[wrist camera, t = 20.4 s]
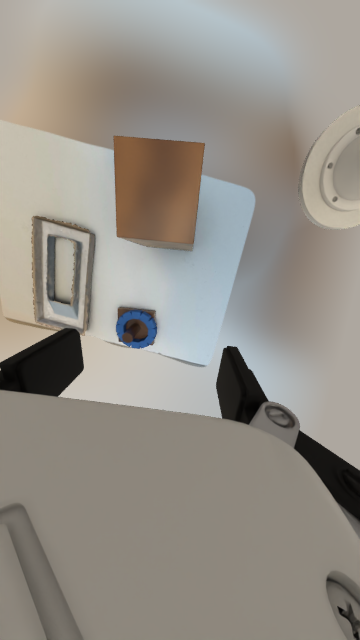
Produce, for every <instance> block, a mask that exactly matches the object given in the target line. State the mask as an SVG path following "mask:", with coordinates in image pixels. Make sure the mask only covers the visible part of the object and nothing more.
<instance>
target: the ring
mask: <svg viewBox="0 0 360 640" xmlns="http://www.w3.org/2000/svg"><path fill="white" fill-rule="evenodd" d="M131 319H139V320H141V321H142V322H144V323H145V324H146V326H147V328H148V335H147V337H145V338H143V339H135V338H134V339H133V340H132V342H130V343H126V342H124V341H123V340H122V335H123V334H124V333H125V332H126V331H127V330H126V323H127V322H128V321H129V320H131ZM116 332H118V334H117V335H118V337H119V338H120V340H121V341H123V343H124V344H126V345H127V346H129V347H130V346H131V347H132V348H138V349H140V347H141V348H144V347H147V346H149V344H151V343H152V342H153V340H154V339H155V337H156V334H157V327H156V323H155V321H154V319H153V318H151V315H149V314H148V313H146V312H145V311H144V312H143V313H142V310H135V309H134V310H130V311H128V312H126V313H124V314H123V315H122V316H120V318H119V320H118V321H117V324H116Z"/></svg>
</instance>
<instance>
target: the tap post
mask: <svg viewBox="0 0 360 640" xmlns="http://www.w3.org/2000/svg"><path fill="white" fill-rule="evenodd" d="M130 310H134V309H133V308H124V307H119V308H118V320H119V318H120V316H122V315H123V314H124V313H126V312H128V311H130ZM135 310H142V313H143V312H144V311H145V312H146V313H148V314H149V315H151V318H153V319H154V321H155V311H152V310H143V309H135ZM126 330H127V331H126V332H125V333H124V334H123V335H122V340H123V341H124V342H126V343H130V342H132V340H133V339H134V338H135V339H143V338H145V337H147V335H148V328H147V326H146V324H145V323H144V322H142V321H141V320H139V319H131V320H129V321H128V322H127V323H126ZM123 341H121V340H120V338H119V342H123ZM153 344H154V340H153V342H152V343H151V344H149V345H153Z"/></svg>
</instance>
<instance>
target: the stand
mask: <svg viewBox="0 0 360 640" xmlns="http://www.w3.org/2000/svg"><path fill="white" fill-rule="evenodd" d="M204 146H205V144H204V143H196V142H184V141H172V140H160V139H148V138H136V137H123V136H114V164H115V195H116V226H117V237H119V238H122V239H125V240H128V241H131V242H134V243H137V244H140V245H144V246H147V247H155V248H165V249H175V250H185V251H192V250H193V244H194V236H195V227H196V218H197V209H198V200H199V191H200V182H201V172H202V164H203V154H204Z"/></svg>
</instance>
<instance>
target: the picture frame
mask: <svg viewBox="0 0 360 640" xmlns="http://www.w3.org/2000/svg"><path fill="white" fill-rule="evenodd" d="M32 222H33V223H32V226H33V229H32V235H33V236H32V238H31V239H32V241H31V242H32V245H33V246H32V258H33V262H32V270H33V272H32V278H33V287H34V288H33V294H34V297H33V298H34V300H33V305H34V310H35V311H34V315H35V322H36V323H39V324H41V325H45V326H48V327H49V326H50V327H52V328H58V329H61V330H62V329H64V328H73V329H77V331H78V332H79V333H80V334H81V335H82V336H85V331H86V330H87V329H88V322H89V305H90V291H91V278H92V267H93V256H94V246H95V235H94V234H92V233H90V231H89V230H88V229H85V228H84V229H83V228H81V227H78V226H77V225H76V224H75V225H72V224H71V223H64V222H63V221H62V222H60V221H55V220H54V219H53V220H50V219H47V218H46V217H39V216H33V217H32ZM55 237H61V238H64V239H66V240H67V239H68V240H70V241H71V242H73V243H74V249H75V252H74V254H73V256H74V261H75V262H74V269H73V270H74V276H73V280H72V281H73V284H72V289H71V290H72V294H73V295H72V298H71V304H70V305H69V304H62V303H60V302H56V301H54V254H55V251H54V247H55V245H54V244H55Z"/></svg>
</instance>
